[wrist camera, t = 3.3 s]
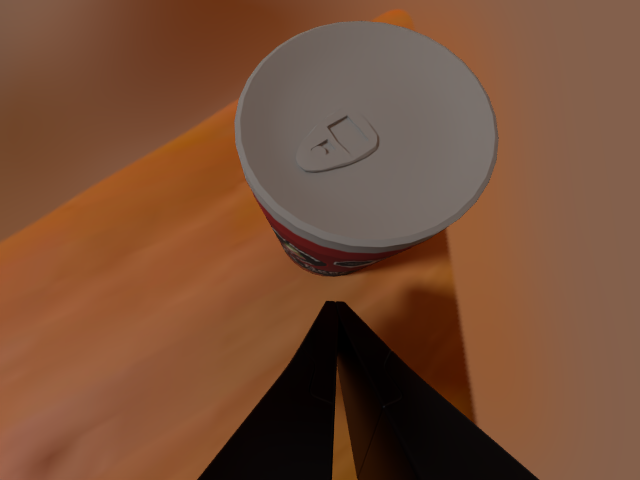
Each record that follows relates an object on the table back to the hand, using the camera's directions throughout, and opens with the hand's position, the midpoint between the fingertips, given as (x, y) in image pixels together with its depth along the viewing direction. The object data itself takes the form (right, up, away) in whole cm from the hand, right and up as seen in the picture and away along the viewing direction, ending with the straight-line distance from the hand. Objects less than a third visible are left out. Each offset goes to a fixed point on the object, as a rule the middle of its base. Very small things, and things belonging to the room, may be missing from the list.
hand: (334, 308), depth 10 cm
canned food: (0, +4, +7) cm, 8 cm away
